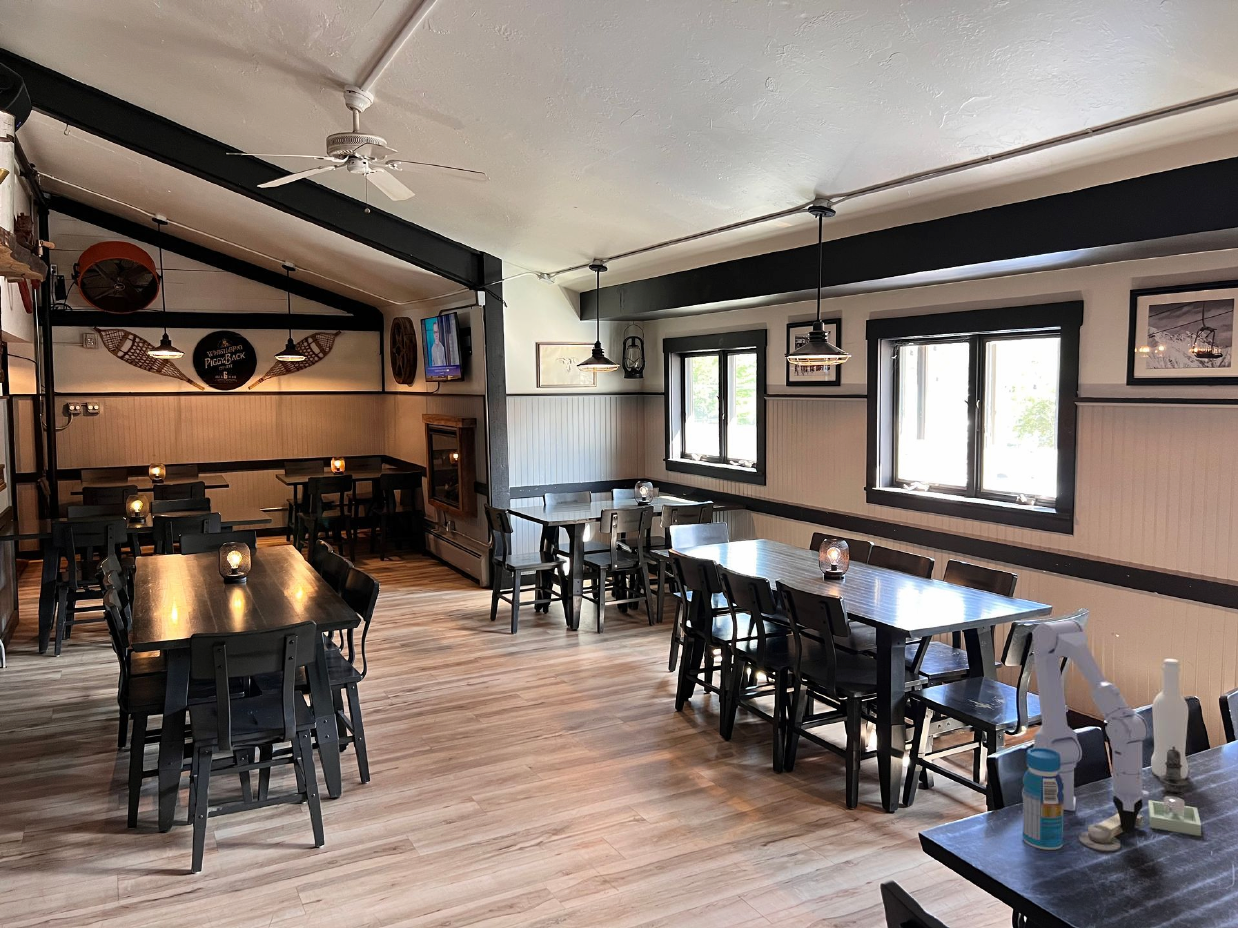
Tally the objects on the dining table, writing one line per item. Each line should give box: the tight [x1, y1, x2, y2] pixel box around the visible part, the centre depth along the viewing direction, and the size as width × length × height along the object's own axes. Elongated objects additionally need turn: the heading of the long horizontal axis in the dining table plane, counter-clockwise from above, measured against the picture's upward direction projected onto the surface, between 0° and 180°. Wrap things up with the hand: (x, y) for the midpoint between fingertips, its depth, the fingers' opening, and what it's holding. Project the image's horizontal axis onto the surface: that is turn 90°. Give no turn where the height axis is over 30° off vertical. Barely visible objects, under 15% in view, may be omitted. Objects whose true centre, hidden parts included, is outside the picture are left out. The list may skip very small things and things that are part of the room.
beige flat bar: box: [1087, 809, 1145, 843], centre depth 200 cm, size 16×5×2 cm, turn 124°
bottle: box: [1150, 658, 1189, 780], centre depth 231 cm, size 8×8×30 cm
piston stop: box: [1163, 796, 1186, 821], centre depth 205 cm, size 4×4×5 cm
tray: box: [1147, 799, 1202, 837], centre depth 205 cm, size 10×10×2 cm
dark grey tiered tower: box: [1158, 746, 1188, 800], centre depth 220 cm, size 6×6×12 cm
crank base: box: [1078, 830, 1121, 852], centre depth 197 cm, size 8×8×1 cm
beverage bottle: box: [1021, 747, 1065, 851], centre depth 197 cm, size 8×8×20 cm
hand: (1127, 830), depth 198 cm, fingers closed, pressing on beige flat bar
